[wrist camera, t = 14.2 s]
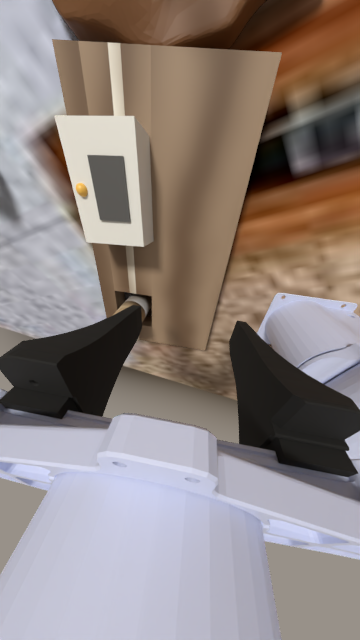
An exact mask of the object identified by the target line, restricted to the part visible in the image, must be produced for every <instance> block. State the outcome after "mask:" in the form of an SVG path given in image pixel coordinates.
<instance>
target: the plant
mask: <svg viewBox="0 0 360 640" xmlns="http://www.w3.org/2000/svg"><path fill="white" fill-rule="evenodd" d="M52 1H53V3H54V5H55V7H56V9H57V10H58V12H59V14H60V15H61V17H62V18H63V19H64V21H65V22H66V23H67V25H68V26H69V27H70V29H71V30H72V31H73V33H74V34H75V35H76V37H77V38H78V39H79V41H89V42H109V43H124V44H142V45H159V46H176V47H194V48H211V49H229V48H230V47H231V46H232V45H233V43H234V42H235V40H236V39H237V37H238V36H239V34H240V33H241V31H242V30H243V28H244V27H245V25H246V24H247V22H248V21H249V19H250V18H251V17H252V15H253V14H254V13H255V12H256V11H257V9H258V8H259V7H260V6H261V5H262V4H263V3H264V2H266V1H267V0H52Z"/></svg>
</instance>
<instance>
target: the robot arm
mask: <svg viewBox="0 0 360 640" xmlns="http://www.w3.org/2000/svg"><path fill="white" fill-rule="evenodd" d="M283 295H285V296H286V297H285V298H284V299H281V297H282V296H283ZM343 304H346V306H345V307H343V308H341V305H343ZM356 308H357V304H355V303H349V302H342V301H335V300H328V299H321V298H314V297H307V296H300V295H293V294H286V293H277V294H276V295H275V297H274V299H273V301H272V303H271V305H270V307H269V309H268V311H267V313H266V315H265V318H264V320H263V322H262V324H261V326H260V328H259V330H258V332H257V333H256V332H255V331H254V330H253V329H252V328H251V327H250V326H249V325H248V324H247V323H246V322H242V321H237V322H236V325H235V328H234V330H233V333H232V336H231V339H230V341H229V344H230V356H231V361H232V366H233V371H234V376H235V381H236V389H237V400H238V414H239V415H238V416H239V444H236V443H231V442H226V441H221V440H216V437H215V436H214V435H213V434H212V433H211V432H210V431H208V430H207V429H205V428H202V427H198V426H195V425H191V424H186V423H181V422H175V421H170V420H165V419H160V418H154V417H150V416H145V415H139V414H132V413H123V414H120V415H117V416H115V417H113V419H111V418H106V417H102V416H103V413H104V410H105V407H106V405H107V402H108V399H109V397H110V394H111V392H112V389H113V387H114V384H115V382H116V379H117V377H118V375H119V372H120V370H121V367H122V366H123V364H124V362H125V360H126V358H127V357H128V355H129V353H130V351H131V350H132V348H133V346H134V344H135V343H136V341H137V339H138V337H139V335H140V332H141V329H142V312H141V306H138V305H132V306H130V307H128V308H126V309H124V310H122V311H120V312H118V313H117V314H115V315H113V316H111V317H109V318H106V319H104V320H102V321H100V322H98V323H95V324H93V325H90V326H87V327H84V328H81V329H78V330H75V331H71V332H68V333H64V334H60V335H55V336H51V337H45V338H39V339H33V340H28V341H22V342H21V343H20V344H18V345H17V346H15V347H14V348H13V349H11V350H10V351H8V352H7V353H5V354H4V355H3V356H1V357H0V370H1V372H2V373H3V374H4V375H5V377H6V378H7V379H8V380H9V381H10V382H11V384H12V385H13V386H14V387H13V388H12V389H11V390H10V391H9V392H7V391H5V390H3V389H0V478H3V479H7V480H11V481H14V482H18V483H21V484H25V485H29V486H32V487H36V488H39V489H43V490H47V491H48V492H47V494H46V496H45V497H44V499H43V501H42V503H41V504H40V506H39V508H38V510H37V511H36V513H35V515H34V517H33V518H32V520H31V522H30V524H29V525H28V527H27V529H26V531H25V532H24V534H23V536H22V538H21V539H20V541H19V543H18V545H17V546H16V548H15V550H14V552H13V554H12V555H11V557H10V559H9V561H8V562H7V564H6V566H5V568H4V570H3V571H2V573H1V575H0V640H282V639H281V634H280V628H279V623H278V617H277V611H276V606H275V599H274V594H273V588H272V582H271V577H270V571H269V565H268V560H267V554H266V548H265V543H264V541H266V542H272V543H277V544H282V545H288V546H293V547H299V548H303V549H309V550H314V551H319V552H324V553H329V554H334V555H339V556H345V557H349V558H354V559H359V560H360V317H359V316H358V315H356V314H355V313H354V312H353V311H354V310H355V309H356ZM268 344H271V345H272V347H273V349H274V350H273V349H272V348H271V347H270V346H269V345H268Z"/></svg>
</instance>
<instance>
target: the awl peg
mask: <svg viewBox="0 0 360 640" xmlns="http://www.w3.org/2000/svg"><path fill="white" fill-rule="evenodd" d="M132 305H138V306H141V312H142V322H143V320H144V319H145V317H146V315H147V313H148V312H149V310H150V308H151V306H152V300H151V298H150V296H148V295H141V294H134V293H132V294H131V295H130V297H129V298H128V299H127V300H126V301H125V302H124V303H123V304H122V305H121V306H120V308H119V309H118V310H117V311H116V312H115V313H114V314H113V315H115V314H117V313H118V312H120V311H122V310H124V309H126V308H128V307H130V306H132ZM113 315H112V316H113Z"/></svg>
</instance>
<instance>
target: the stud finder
mask: <svg viewBox="0 0 360 640" xmlns="http://www.w3.org/2000/svg"><path fill="white" fill-rule="evenodd" d="M54 116H55V120H56V124H57V128H58V131H59V135H60V139H61V143H62V147H63V151H64V155H65V159H66V163H67V167H68V171H69V175H70V179H71V183H72V186H73V190H74V194H75V198H76V202H77V206H78V210H79V214H80V218H81V222H82V226H83V230H84V234H85V238H86V241H87V242H89V243H102V244H114V245H127V246H140V247H144V246H146V245H148V244H150V243H152V242H153V241H154V238H153V214H152V189H151V165H150V140H149V135H148V134H147V132H146V131H145V130H144V128H143V127H142V126H141V124H140V123H139V122H138V120H137V119H136V118H135V116H66V115H54Z"/></svg>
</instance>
